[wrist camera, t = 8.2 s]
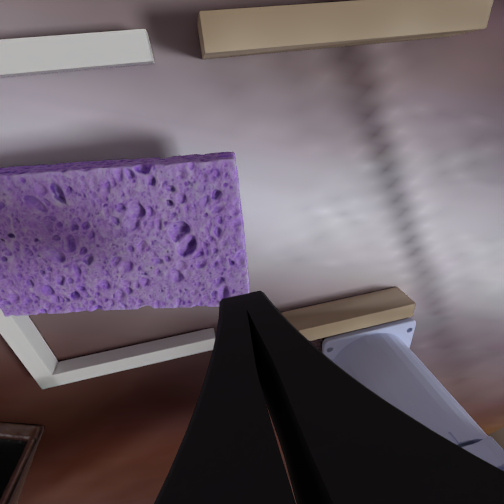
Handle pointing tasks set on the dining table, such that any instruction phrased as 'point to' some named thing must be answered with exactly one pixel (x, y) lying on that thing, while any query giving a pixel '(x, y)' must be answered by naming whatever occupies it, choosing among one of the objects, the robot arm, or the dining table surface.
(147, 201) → the sponges
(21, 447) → the letter holder
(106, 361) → the frame
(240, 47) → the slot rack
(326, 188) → the dining table surface
